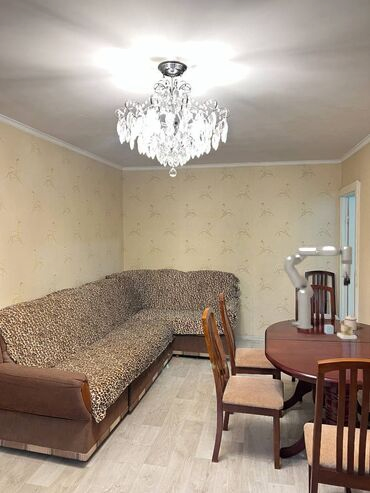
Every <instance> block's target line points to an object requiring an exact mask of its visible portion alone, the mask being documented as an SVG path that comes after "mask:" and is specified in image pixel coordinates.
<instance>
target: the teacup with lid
mask: <svg viewBox="0 0 370 493" xmlns="http://www.w3.org/2000/svg"><path fill="white" fill-rule="evenodd" d="M342 321H344V322H343V323H344V324H343V323H342ZM339 323H340V326H341V325H350V326H351V327H353V330H355V331H356V330H357V317H355V316H353V315H352V314H349V315H347V316H344V318H343V319H341V320H340V321H339Z"/></svg>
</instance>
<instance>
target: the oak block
mask: <svg viewBox="0 0 370 493" xmlns="http://www.w3.org/2000/svg"><path fill="white" fill-rule="evenodd" d="M340 333H341V334H343V335H344V336H348V335H353V334H354V331H353V327H351V326H350V325H344V324H343V325H341V324H340Z"/></svg>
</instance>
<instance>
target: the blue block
mask: <svg viewBox="0 0 370 493" xmlns="http://www.w3.org/2000/svg"><path fill="white" fill-rule="evenodd" d="M334 329H335V328H334V325H332V324H324V330H323V331H324V334H326V335H334V333H335V331H334Z"/></svg>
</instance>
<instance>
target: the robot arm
mask: <svg viewBox="0 0 370 493" xmlns="http://www.w3.org/2000/svg"><path fill="white" fill-rule="evenodd" d="M336 256H340V257H341V258H340V259H341V260H340V261H341V262H340V263H341V265H342V267H341V268H342V269H341V278H343V286H344V287H346V286H347V287H348V286H349V285H351V274H352V273H351V272H352V271H351V270H352V269H351V268H352V267H351V265H353V247H352V246H351V245H343V246H342V245H330V246H329V245H325V246H324V245H300V246H298V247H297V250H296V253H294V254H291V255H288V256H287V257H286V258H285V259H284V261H283V268H284V271H285V272H286V274H287V276H288V278H289V280H290V282H291V284H292V286H293V287H294V288H297V289H299V290H298V291H297V296H296V297H297V311H298V314H297V315H298V316H297V317H298V318H297V319H298V320H297V321H292V322H291V323H292V324H291V325H295V326H296V327H297V328H298V329H302V330H303V329H304V330H305V329H306V330H309V329H313V328H314V327H313V326H314V325H312V324H311V320H312V319H311V318H312V316H311V315H312V314H311V310H312V309H311V307H312V306H311V299H312V298H313V296H314V290H313V289H314V288H312V286H311V284H310V282H309V281H308V278H307V277H305V276H304V275H300V272H299V271H298V269H297V268H296V267H295V266H297V265H299V264H301V263H302V262H303V261H304V260H305V259H306V258H307V257H336Z"/></svg>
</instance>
